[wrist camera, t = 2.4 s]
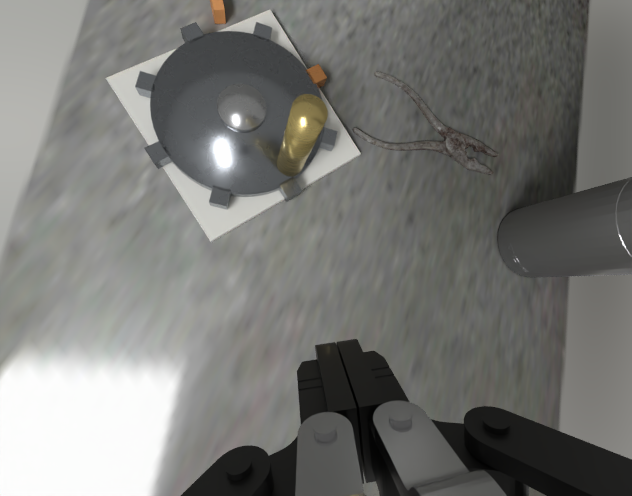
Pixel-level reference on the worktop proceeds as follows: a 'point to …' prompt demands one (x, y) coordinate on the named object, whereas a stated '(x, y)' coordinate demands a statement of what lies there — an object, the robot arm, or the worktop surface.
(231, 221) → the base plate
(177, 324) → the worktop surface
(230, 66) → the sprocket
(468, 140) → the pliers
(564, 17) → the worktop surface
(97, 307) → the worktop surface
